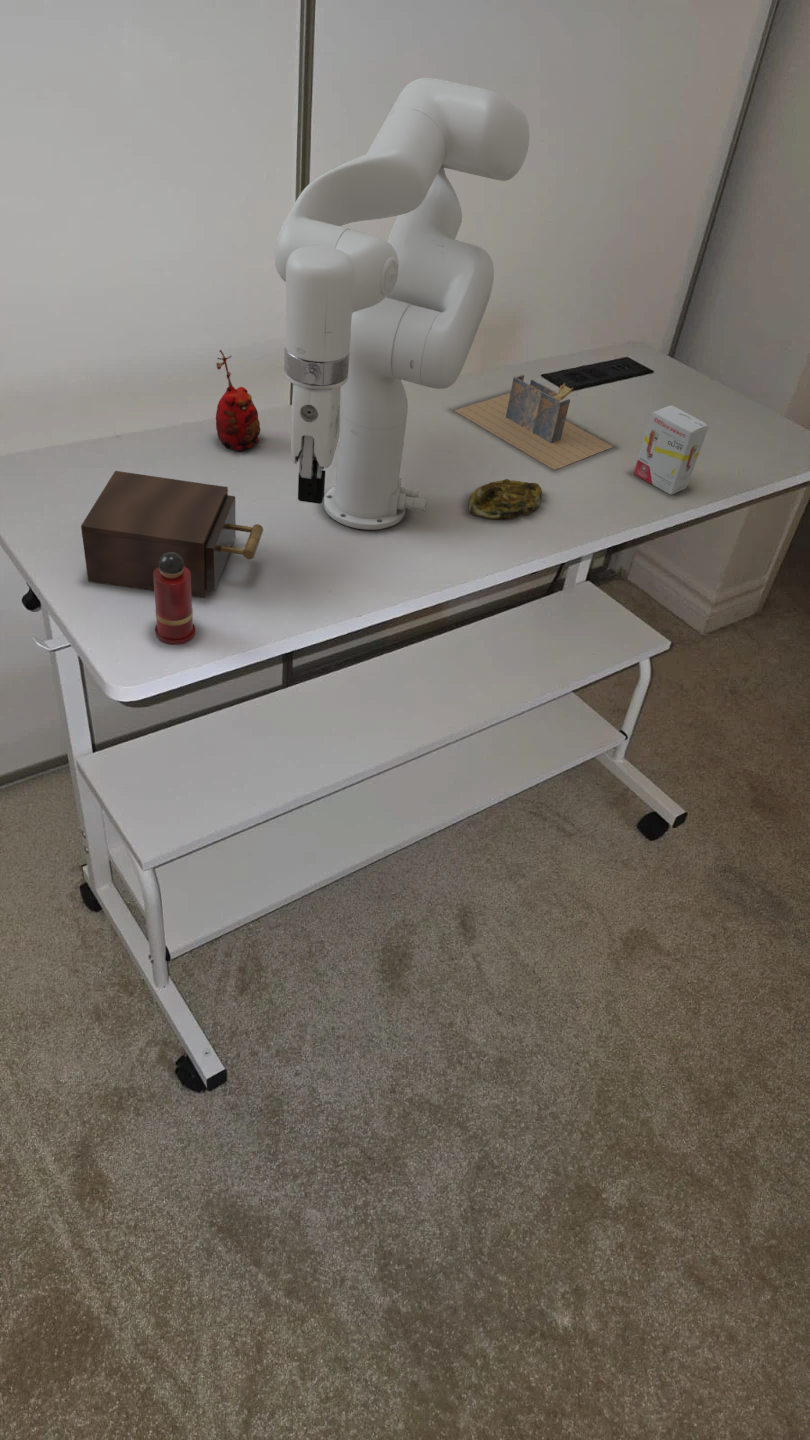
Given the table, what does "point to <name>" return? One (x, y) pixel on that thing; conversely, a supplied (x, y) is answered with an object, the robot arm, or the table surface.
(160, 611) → the red cylinder
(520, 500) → the mottled olive oval lump
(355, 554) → the table surface
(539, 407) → the ruin model on sheet
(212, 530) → the drawer
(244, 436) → the red clay folk toy
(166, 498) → the cabinet
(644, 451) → the ink box
